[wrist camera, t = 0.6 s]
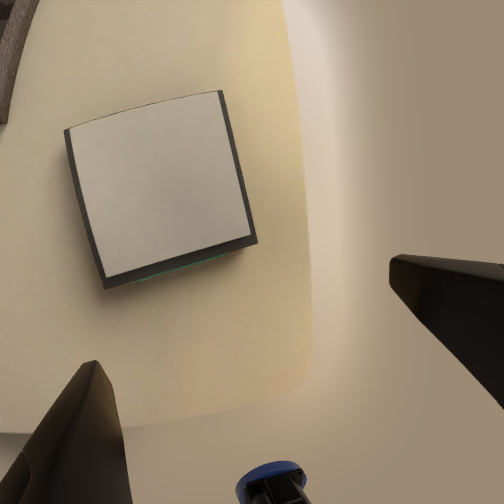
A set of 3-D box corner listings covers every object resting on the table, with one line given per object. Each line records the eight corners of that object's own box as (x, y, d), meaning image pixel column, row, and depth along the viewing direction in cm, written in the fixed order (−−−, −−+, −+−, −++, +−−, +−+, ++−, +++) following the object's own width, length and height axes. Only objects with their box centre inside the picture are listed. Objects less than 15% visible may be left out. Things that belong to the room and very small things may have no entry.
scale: (249, 242, 22) (262, 248, 20) (109, 284, 20) (104, 296, 17) (215, 98, 20) (224, 86, 17) (70, 135, 17) (60, 128, 15)
